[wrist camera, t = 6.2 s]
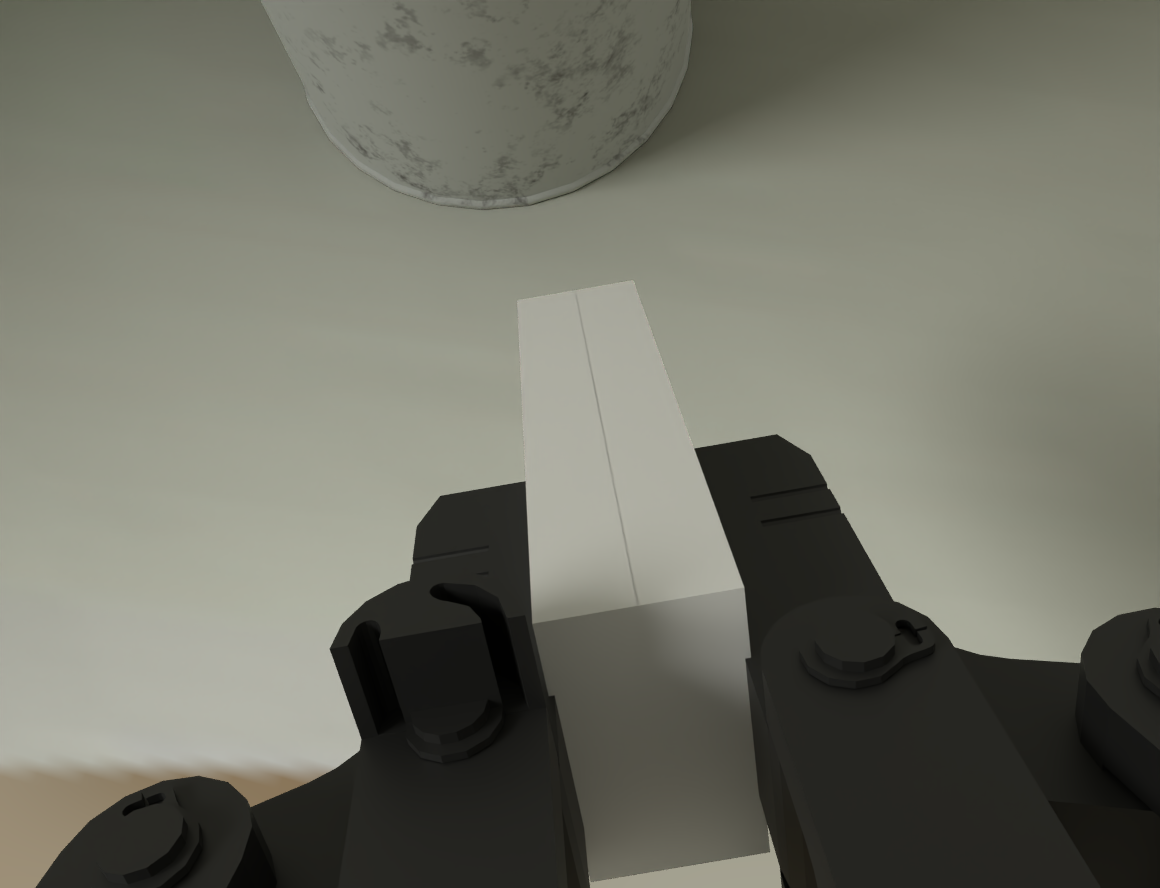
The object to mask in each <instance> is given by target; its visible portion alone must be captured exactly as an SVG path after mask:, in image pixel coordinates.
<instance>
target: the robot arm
mask: <svg viewBox="0 0 1160 888" xmlns="http://www.w3.org/2000/svg"><path fill="white" fill-rule="evenodd" d="M517 312H518V333H519V354H520V375H521V396H522V417H523V438H524V459H525V480H526V481H524V482H519V483H513V484H507V485H501V486H495V487H490V488H484V489H478V490H472V491H466V492H461V493H455V494H449V495H443V496H440V497H439V498H438V500H437V501H436V502H435V504H434V505H433V506H432V507H431V509H430V510H429V511H428V513H427V514H426V515H425V517H424V518H423V519H422V521H421V522H420V523H419V524H418V526H417V530H416V537H415V545H414V553H413V563H414V564H413V565H412V568H411V575H410V581H407V582H404V583H400V584H397V585H395V586H394V587H392V588H390V589H388V590H386V591H384V592H383V593H381V594H379V595H377V596H375V597H373V598H372V599H370V600H368V601H366V602H365V603H364V604H363V605H362V606H361V607H360V608H359V609H358V610H356V611H355V612H354V613H353V614H352V615H351V616H350V617H349V618H348V619H347V620H346V621H345V622H344V623H343V624H342V625H341V627H340V629H339V631H338V633H337V635H336V637H335V639H334V641H333V643H332V645H331V647H330V651H331V654H332V657H333V659H334V662H335V665H336V668H337V671H338V674H339V676H340V679H341V682H342V685H343V688H344V691H345V693H346V696H347V699H348V702H349V705H350V707H351V710H352V713H353V716H354V719H355V722H356V724H357V727H358V730H359V733H360V736H361V739H362V740H361V747H360V751H359V752H358V753H356V754H355V755H354V756H352V757H351V758H349V759H348V760H347V761H345V762H344V763H343V764H341V765H340V766H339V767H337V768H336V769H334V770H332V771H330V772H328V773H326V774H324V775H322V776H321V777H319V778H317V779H315V780H313V781H311V782H309V783H307V784H304V785H302V786H300V787H297V788H295V789H293V790H290V791H288V792H286V793H283V794H281V795H279V796H276V797H274V798H272V799H269V800H267V801H265V802H262V803H260V804H257V805H255V806H253V807H250V805H249V803H248V801H247V799H246V798H245V797H243V795H241V794H240V793H239V792H238V791H237V790H236V789H235V788H234V787H233V786H232V785H231V784H229V783H228V782H225V781H220V780H215V779H211V778H206V777H201V776H195V777H188V778H181V779H174V780H167V781H162V782H160V783H157V784H155V785H152V786H150V787H147V788H145V789H143V790H140V791H138V792H135V793H133V794H130V795H128V796H126V797H124V798H123V799H121V800H120V801H118V802H117V803H115V804H114V805H112V806H111V807H109V808H108V809H107V810H105V811H104V812H102V813H101V814H99V815H98V816H96V817H95V818H93V819H92V820H91V821H89V822H88V824H87V825H86V826H85V827H84V828H83V829H82V830H81V831H80V832H79V833H78V834H77V835H76V836H75V837H74V839H73V840H72V841H71V842H70V843H69V844H68V845H67V846H66V847H65V848H64V849H63V851H61V853H60V854H59V856H58V857H57V858H56V860H55V861H54V862H53V864H52V866H51V867H50V868H49V870H48V871H47V872H46V874H45V875H44V877H43V878H42V879H41V881H40V882H39V884H38V885H37V886H36V888H590V884H589V876H590V880H591V882H594V881H600V880H606V879H612V878H618V877H624V876H630V875H636V874H642V873H648V872H654V871H660V870H665V869H672V868H678V867H683V866H690V865H696V864H702V863H708V862H713V861H720V860H725V859H731V858H737V857H743V856H749V855H755V854H761V853H767V852H770V848H769V837H768V828H769V831H770V835H771V838H772V842H773V845H774V848H775V851H776V855H777V858H778V862H779V865H780V872H781V884H782V888H1160V608H1151V609H1146V610H1141V611H1136V612H1131V613H1126V614H1121V615H1117V616H1116V617H1114V618H1113V619H1111V620H1109V621H1108V622H1106V623H1104V624H1103V625H1101V626H1100V627H1098V628H1096V629H1095V630H1093V631H1092V633H1091V635H1090V637H1089V639H1088V641H1087V643H1086V645H1085V647H1084V649H1083V651H1082V653H1081V662H1080V663H1068V662H1051V661H1035V660H1019V659H1007V658H1000V657H993V656H985V655H979V654H976V653H972V652H969V651H965V650H962V649H959V648H955V647H954V646H953V645H952V643H951V641H950V640H949V638H948V637H947V636H946V635H945V634H944V633H943V632H942V631H941V630H940V629H939V628H938V627H937V626H936V625H935V624H934V623H933V622H932V621H931V620H930V619H929V618H928V617H927V616H925V615H923V614H921V613H919V612H917V611H915V610H913V609H911V608H909V607H907V606H905V605H903V604H901V603H899V602H894V601H893V599H892V597H891V596H890V594H889V592H888V590H887V589H886V587H885V585H884V583H883V582H882V580H881V578H880V576H879V575H878V573H877V571H876V569H875V568H874V566H873V564H872V562H871V560H870V559H869V557H868V555H867V553H866V552H865V550H864V548H863V546H862V545H861V543H860V541H859V539H858V538H857V536H856V534H855V532H854V531H853V529H852V527H851V525H850V524H849V522H848V520H847V518H846V517H845V515H844V513H843V514H841V510H840V506H839V504H838V502H837V501H836V499H835V497H834V495H833V494H832V492H831V490H830V489H828V488H827V483H826V481H825V480H824V478H823V476H822V474H821V473H820V471H819V469H818V467H817V466H816V464H815V462H814V460H813V459H812V457H811V455H810V454H808V453H806V452H805V451H803V450H801V449H800V448H798V447H797V446H795V445H793V444H792V443H790V442H788V441H787V440H785V439H784V438H782V437H780V436H779V435H777V434H776V435H771V436H765V437H759V438H753V439H747V440H742V441H736V442H730V443H724V444H718V445H713V446H707V447H701V448H695V449H694V447H693V444H692V441H691V439H690V436H689V433H688V430H687V428H686V425H685V422H684V419H683V416H682V414H681V411H680V408H679V405H678V403H677V400H676V397H675V394H674V391H673V389H672V386H671V383H670V380H669V378H668V375H667V372H666V369H665V367H664V364H663V361H662V358H661V355H660V353H659V350H658V347H657V344H656V342H655V339H654V336H653V333H652V331H651V328H650V325H649V322H648V319H647V317H646V314H645V311H644V308H643V306H642V303H641V300H640V297H639V295H638V292H637V289H636V286H635V283H634V281H633V280H630V281H624V282H618V283H612V284H607V285H601V286H595V287H589V288H584V289H578V290H572V291H566V292H561V293H555V294H549V295H544V296H538V297H532V298H526V299H521V300H517ZM767 825H768V827H767ZM588 872H589V874H588Z"/></svg>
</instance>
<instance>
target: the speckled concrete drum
mask: <svg viewBox="0 0 1160 888" xmlns="http://www.w3.org/2000/svg"><path fill="white" fill-rule="evenodd" d="M260 1H261V3H262V5H263V7H264V9H265V11H266V13H267V15H268V17H269V18H270V20H271V22H272V24H273V26H274V28H275V30H276V32H277V34H278V36H279V38H280V40H281V42H282V44H283V46H284V48H285V50H286V52H287V54H288V56H289V58H290V60H291V62H292V64H293V66H294V67H295V69H296V71H297V73H298V75H299V77H300V79H301V81H302V83H303V86H304V90H305V93H306V97H307V101H308V104H309V106H310V107H311V109H312V111H313V113H314V114H315V116H316V118H317V119H318V121H319V123H320V124H321V126H322V128H323V130H324V131H325V133H326V135H327V136H328V138H329V140H330V141H331V142H332V143H333V144H334V145H335V146H336V147H337V148H338V149H339V150H340V151H341V152H342V153H343V154H344V155H345V156H346V157H347V158H348V159H349V160H350V161H351V162H352V163H353V164H354V165H355V166H356V167H357V168H358V169H360V170H361V171H363V172H365V173H366V174H368V175H370V176H371V177H373V178H375V179H376V180H378V181H380V182H381V183H383V184H385V185H386V186H388V187H390V188H391V189H393V190H394V191H397V192H400V193H403V194H406V195H409V196H412V197H415V198H418V199H421V200H424V201H427V202H430V203H433V204H436V205H444V206H453V207H462V208H471V209H481V210H485V209H495V208H506V207H516V206H526V205H531V204H535V203H538V202H541V201H544V200H548V199H551V198H554V197H558V196H561V195H564V194H567V193H571V192H573V191H575V190H577V189H579V188H581V187H583V186H584V185H586V184H588V183H590V182H592V181H594V180H595V179H597V178H599V177H601V176H603V175H605V174H606V173H608V172H610V171H612V170H613V169H615V168H616V167H617V166H618V165H619V164H620V163H622V162H623V161H624V160H625V159H626V158H627V157H629V156H630V155H631V154H632V153H633V152H634V151H635V150H637V149H638V148H639V147H640V146H641V145H642V144H644V143H645V142H646V141H647V140H648V138H649V137H650V136H651V134H652V133H653V132H654V130H655V129H656V127H657V126H658V125H659V123H660V122H661V121H662V119H663V118H664V117H665V115H666V114H667V112H668V111H669V110H670V108H671V107H672V105H673V103H674V100H675V98H676V96H677V93H678V91H679V88H680V86H681V83H682V81H683V79H684V76H685V74H686V71H687V69H688V61H689V54H690V47H691V40H692V32H693V22H692V14H691V0H260Z"/></svg>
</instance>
